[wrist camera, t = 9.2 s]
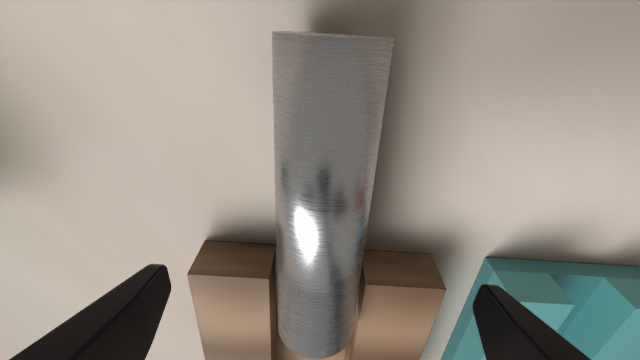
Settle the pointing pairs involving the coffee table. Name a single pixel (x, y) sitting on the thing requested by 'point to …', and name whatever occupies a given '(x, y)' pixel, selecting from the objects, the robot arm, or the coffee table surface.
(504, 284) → the v block
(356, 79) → the axle
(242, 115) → the coffee table surface
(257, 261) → the wooden channel block
